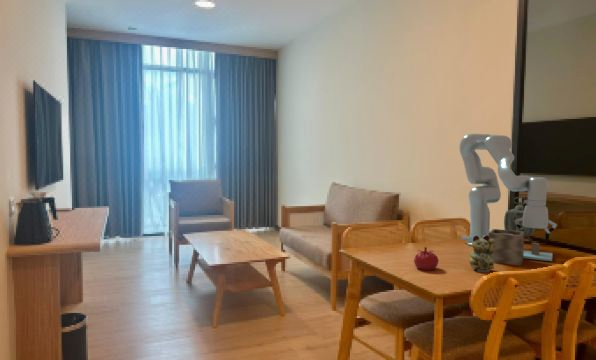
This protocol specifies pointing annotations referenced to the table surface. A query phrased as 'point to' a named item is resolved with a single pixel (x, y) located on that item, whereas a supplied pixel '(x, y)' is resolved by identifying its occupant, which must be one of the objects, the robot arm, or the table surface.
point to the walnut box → (507, 246)
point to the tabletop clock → (516, 214)
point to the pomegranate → (426, 260)
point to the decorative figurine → (482, 254)
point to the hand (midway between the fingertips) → (534, 239)
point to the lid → (537, 253)
